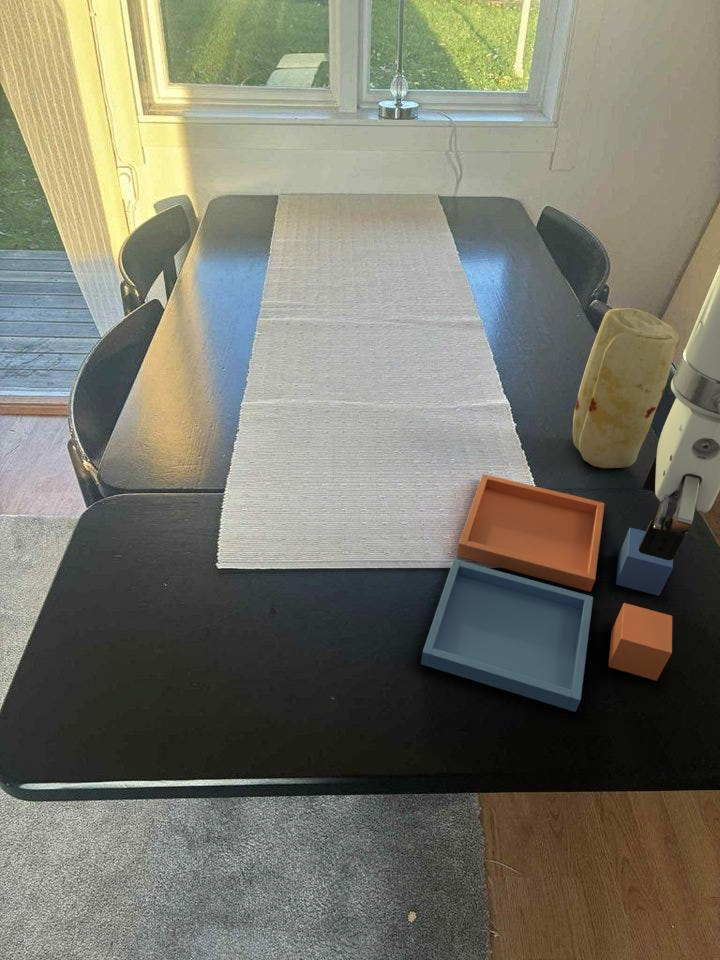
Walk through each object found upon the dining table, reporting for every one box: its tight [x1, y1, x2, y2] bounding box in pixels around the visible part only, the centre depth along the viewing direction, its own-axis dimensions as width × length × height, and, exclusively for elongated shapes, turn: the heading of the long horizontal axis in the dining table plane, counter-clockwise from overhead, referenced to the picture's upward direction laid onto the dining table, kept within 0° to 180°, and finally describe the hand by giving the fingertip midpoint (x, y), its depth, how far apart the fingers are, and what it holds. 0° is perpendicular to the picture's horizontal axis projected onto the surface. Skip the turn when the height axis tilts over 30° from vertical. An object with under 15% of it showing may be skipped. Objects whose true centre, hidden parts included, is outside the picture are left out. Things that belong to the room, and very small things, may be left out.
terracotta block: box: [607, 602, 673, 681], centre depth 67 cm, size 4×4×4 cm
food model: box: [572, 308, 681, 469], centre depth 85 cm, size 10×7×20 cm
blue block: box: [615, 527, 674, 597], centre depth 75 cm, size 4×4×4 cm
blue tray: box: [420, 558, 594, 713], centre depth 69 cm, size 15×13×2 cm
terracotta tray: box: [456, 473, 605, 593], centre depth 80 cm, size 15×13×2 cm
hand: (656, 521), depth 71 cm, fingers open, 9 cm apart
